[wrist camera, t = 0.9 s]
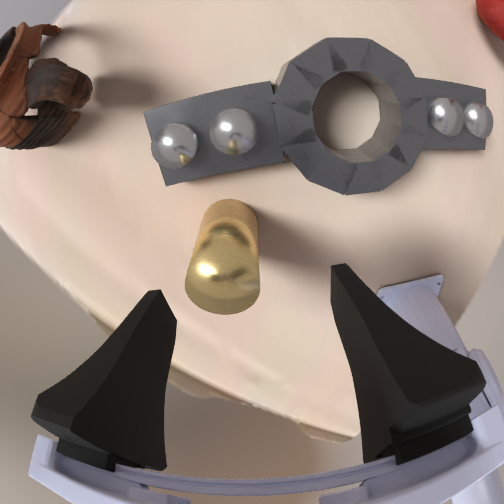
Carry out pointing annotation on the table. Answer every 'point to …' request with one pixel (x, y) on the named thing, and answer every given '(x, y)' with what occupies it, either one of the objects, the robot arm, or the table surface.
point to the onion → (492, 15)
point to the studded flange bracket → (302, 124)
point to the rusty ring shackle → (36, 90)
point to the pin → (225, 260)
